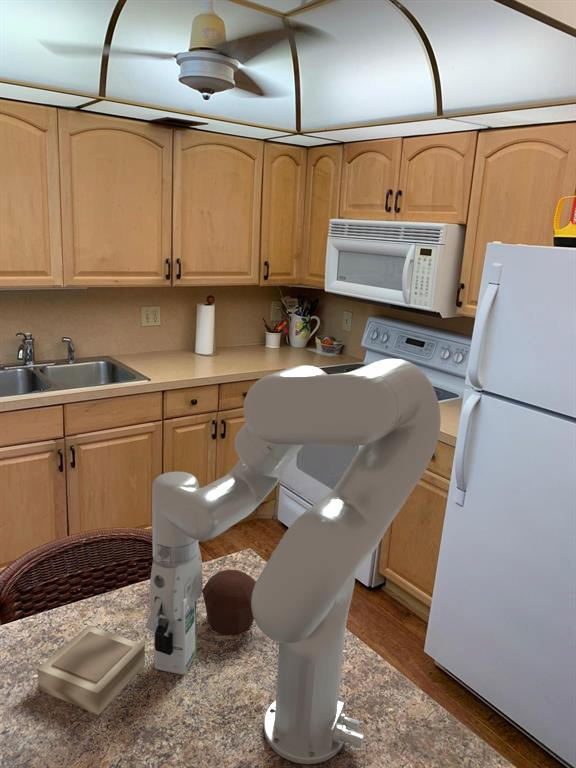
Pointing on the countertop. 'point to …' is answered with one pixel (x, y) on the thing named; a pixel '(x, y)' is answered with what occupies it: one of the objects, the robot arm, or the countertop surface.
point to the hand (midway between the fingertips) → (175, 638)
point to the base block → (91, 669)
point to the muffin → (229, 602)
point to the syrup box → (179, 642)
